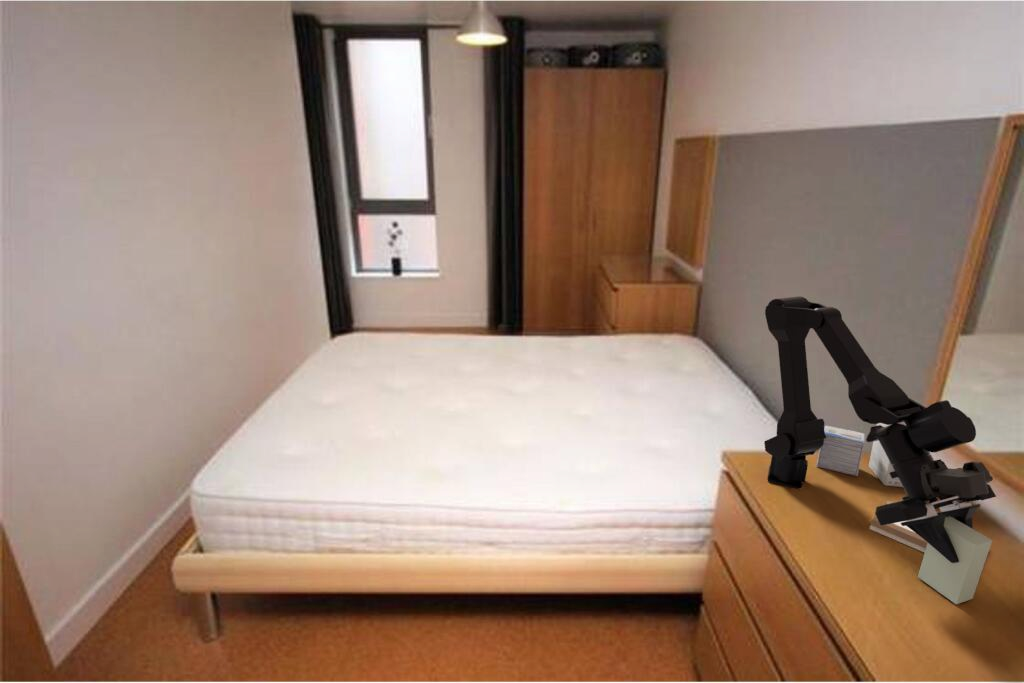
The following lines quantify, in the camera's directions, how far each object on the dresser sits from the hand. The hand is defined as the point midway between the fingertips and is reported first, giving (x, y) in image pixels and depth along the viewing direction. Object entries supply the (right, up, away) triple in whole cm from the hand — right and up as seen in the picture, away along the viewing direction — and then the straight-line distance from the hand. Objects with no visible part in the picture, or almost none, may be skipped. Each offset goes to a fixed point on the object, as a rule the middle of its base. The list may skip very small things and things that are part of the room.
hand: (964, 559), depth 82 cm
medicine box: (+3, +5, +37) cm, 38 cm away
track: (+5, -2, +16) cm, 17 cm away
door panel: (0, -6, +3) cm, 7 cm away
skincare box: (+12, +4, +34) cm, 36 cm away
